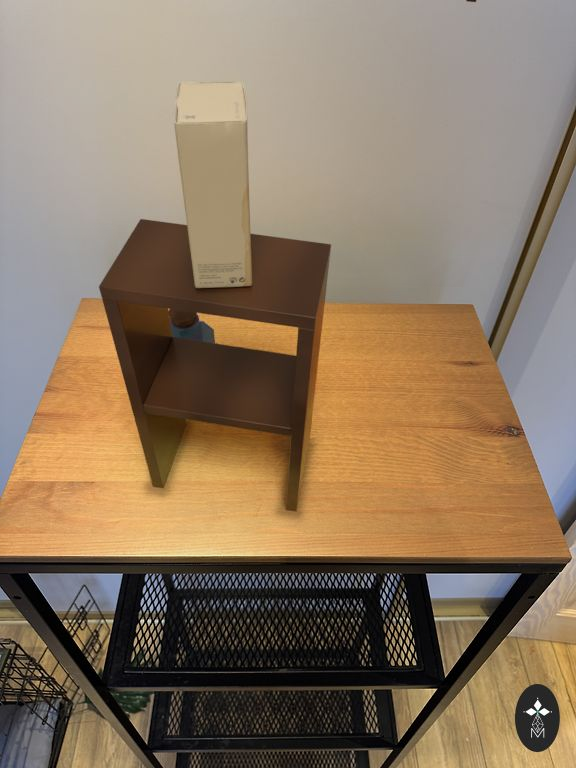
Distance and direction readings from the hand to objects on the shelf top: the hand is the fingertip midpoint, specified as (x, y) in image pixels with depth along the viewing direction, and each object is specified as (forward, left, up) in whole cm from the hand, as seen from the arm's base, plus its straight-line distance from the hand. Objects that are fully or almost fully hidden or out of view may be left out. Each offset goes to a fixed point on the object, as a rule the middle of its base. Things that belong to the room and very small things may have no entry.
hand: (527, 4), depth 43 cm
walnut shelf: (+20, +18, -42) cm, 50 cm away
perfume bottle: (+28, +7, -42) cm, 51 cm away
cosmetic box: (+20, +18, -14) cm, 30 cm away
